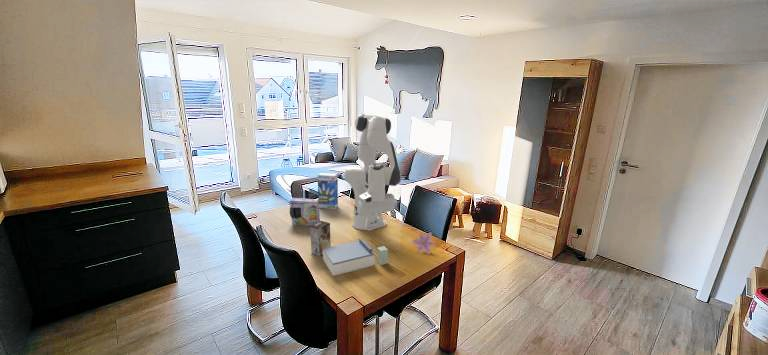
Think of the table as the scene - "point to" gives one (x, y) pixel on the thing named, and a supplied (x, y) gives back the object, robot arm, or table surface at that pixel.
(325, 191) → the string lights box
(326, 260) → the mailer box
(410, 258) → the table surface
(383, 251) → the parcel block
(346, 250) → the lid
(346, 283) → the table surface
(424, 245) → the lily
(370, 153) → the robot arm
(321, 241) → the coffee box
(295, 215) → the cake pan box
